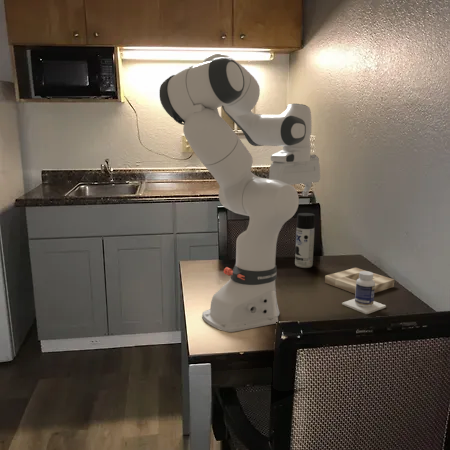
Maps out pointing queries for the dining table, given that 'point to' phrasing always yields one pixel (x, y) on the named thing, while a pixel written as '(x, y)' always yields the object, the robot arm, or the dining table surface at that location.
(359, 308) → the pad
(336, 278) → the socket block
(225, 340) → the dining table surface
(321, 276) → the dining table surface
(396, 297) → the dining table surface
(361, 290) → the pill bottle
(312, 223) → the spray can
